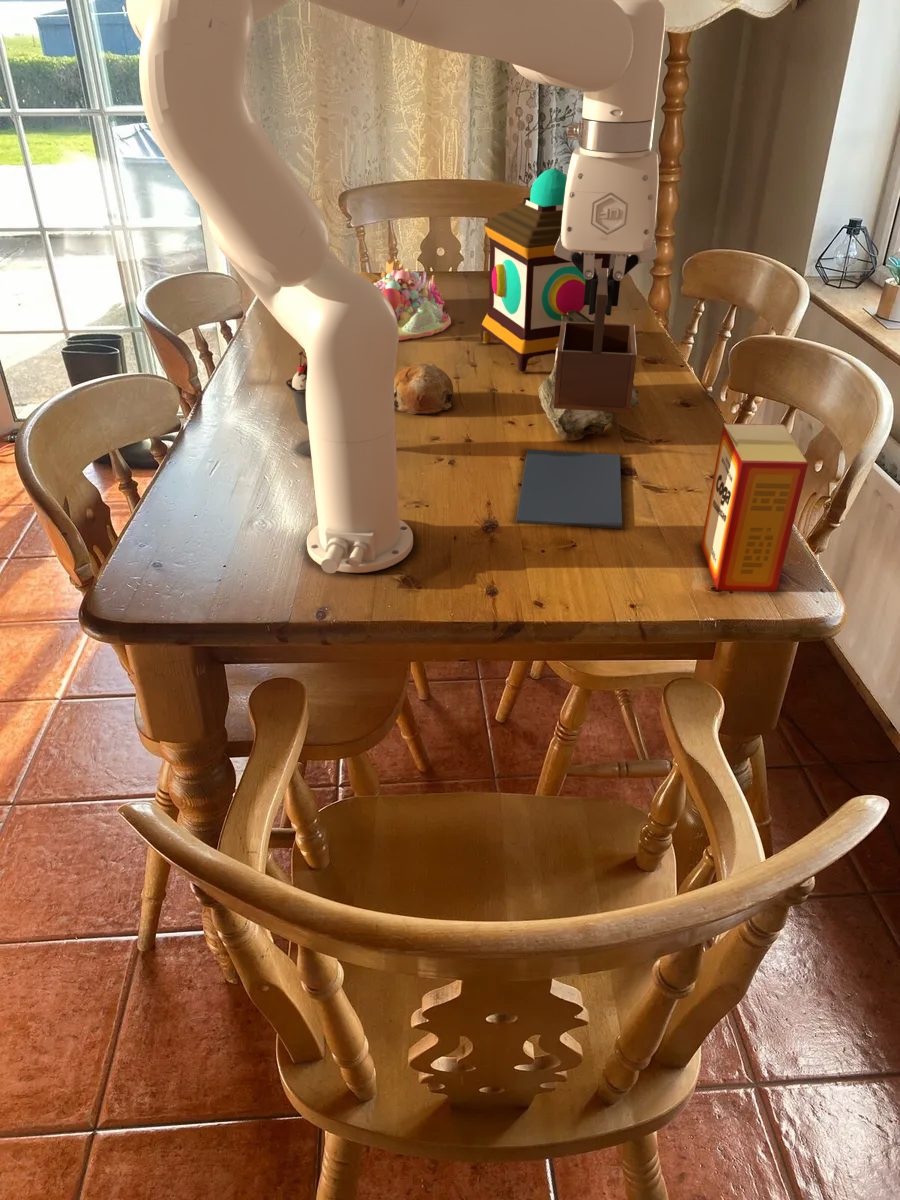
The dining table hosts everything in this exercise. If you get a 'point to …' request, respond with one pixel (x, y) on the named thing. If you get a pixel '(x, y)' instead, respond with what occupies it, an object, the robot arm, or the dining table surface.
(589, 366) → the basket
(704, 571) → the dining table surface
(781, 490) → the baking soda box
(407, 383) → the bread roll
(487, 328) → the decorative lantern
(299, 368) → the sundae
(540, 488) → the placemat
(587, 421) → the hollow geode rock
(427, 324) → the candy landscape model
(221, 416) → the dining table surface
